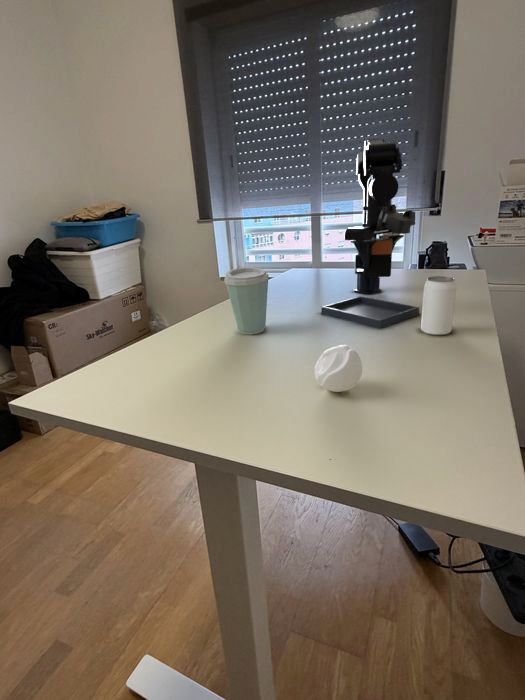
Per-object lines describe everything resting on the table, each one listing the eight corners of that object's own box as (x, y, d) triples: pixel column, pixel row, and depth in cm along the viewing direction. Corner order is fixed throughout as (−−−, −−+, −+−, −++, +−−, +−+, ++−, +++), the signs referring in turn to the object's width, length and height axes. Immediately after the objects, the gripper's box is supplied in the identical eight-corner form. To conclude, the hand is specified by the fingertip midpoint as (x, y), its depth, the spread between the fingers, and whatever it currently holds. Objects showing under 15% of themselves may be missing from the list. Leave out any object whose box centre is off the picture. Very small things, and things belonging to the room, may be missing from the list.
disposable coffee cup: (280, 331, 99) (277, 269, 94) (241, 341, 94) (236, 276, 89) (258, 321, 108) (254, 265, 102) (222, 330, 103) (215, 271, 97)
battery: (390, 277, 102) (392, 236, 98) (362, 277, 104) (363, 237, 100) (390, 273, 106) (392, 234, 102) (363, 274, 107) (364, 235, 104)
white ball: (311, 381, 72) (310, 340, 69) (353, 377, 72) (354, 336, 69) (320, 402, 64) (320, 357, 62) (367, 398, 65) (369, 353, 62)
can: (455, 329, 92) (461, 277, 88) (445, 337, 88) (450, 282, 84) (427, 325, 96) (431, 274, 92) (415, 332, 92) (419, 280, 88)
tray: (321, 313, 111) (321, 306, 110) (359, 302, 120) (359, 295, 119) (379, 328, 96) (380, 320, 95) (418, 314, 105) (419, 307, 104)
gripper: (382, 202, 87) (379, 275, 92) (431, 197, 97) (426, 263, 103) (343, 203, 95) (342, 270, 101) (392, 199, 105) (389, 259, 111)
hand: (376, 265), depth 104 cm, fingers closed on battery, 7 cm apart
